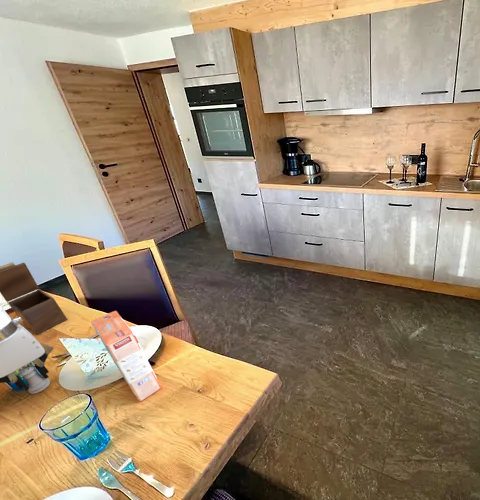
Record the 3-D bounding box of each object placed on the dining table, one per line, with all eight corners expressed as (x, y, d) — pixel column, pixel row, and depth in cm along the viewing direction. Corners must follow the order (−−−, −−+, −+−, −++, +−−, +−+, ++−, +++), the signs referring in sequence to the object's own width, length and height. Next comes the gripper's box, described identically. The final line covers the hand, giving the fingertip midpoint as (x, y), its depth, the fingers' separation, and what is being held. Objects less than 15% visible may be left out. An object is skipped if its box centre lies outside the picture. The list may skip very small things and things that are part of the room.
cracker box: (163, 387, 80) (133, 331, 70) (139, 403, 76) (104, 346, 66) (145, 362, 88) (116, 308, 78) (122, 375, 84) (88, 321, 74)
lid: (25, 263, 100) (17, 256, 101) (-11, 275, 93) (-19, 268, 94) (39, 288, 107) (32, 282, 109) (7, 302, 101) (0, 295, 102)
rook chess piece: (30, 387, 82) (13, 368, 78) (51, 377, 84) (35, 358, 81) (29, 397, 79) (12, 378, 75) (51, 387, 81) (35, 368, 78)
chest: (67, 319, 107) (53, 297, 102) (37, 335, 101) (20, 312, 96) (53, 310, 113) (39, 289, 108) (24, 324, 106) (7, 302, 101)
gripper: (32, 309, 80) (66, 355, 88) (-62, 351, 67) (-11, 400, 76) (43, 317, 76) (77, 364, 85) (-53, 363, 64) (-2, 413, 72)
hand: (35, 381), depth 80 cm, fingers closed on rook chess piece, 3 cm apart
